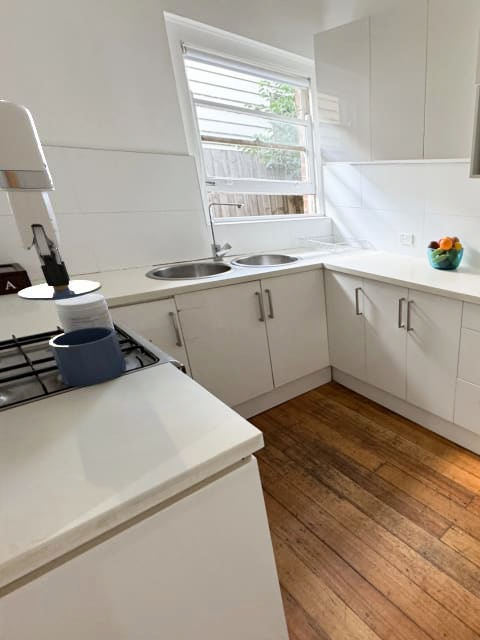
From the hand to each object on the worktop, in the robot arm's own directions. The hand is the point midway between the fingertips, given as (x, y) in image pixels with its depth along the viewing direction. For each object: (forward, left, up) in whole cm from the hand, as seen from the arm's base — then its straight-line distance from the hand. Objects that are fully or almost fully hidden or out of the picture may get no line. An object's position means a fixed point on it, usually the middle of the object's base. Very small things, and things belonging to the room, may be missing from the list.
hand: (59, 283), depth 74 cm
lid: (0, 0, -2) cm, 2 cm away
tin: (+1, +6, -23) cm, 24 cm away
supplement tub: (+2, +19, -23) cm, 30 cm away
